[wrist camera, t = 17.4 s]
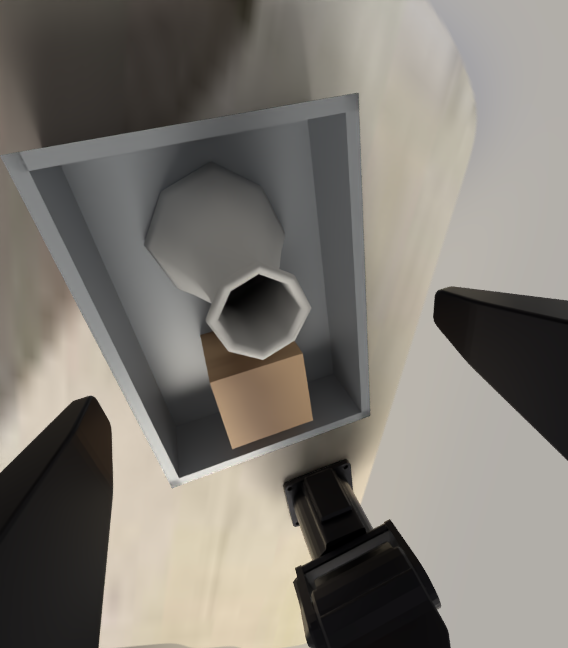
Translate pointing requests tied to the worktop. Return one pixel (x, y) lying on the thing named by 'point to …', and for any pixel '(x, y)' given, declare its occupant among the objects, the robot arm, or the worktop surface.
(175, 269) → the flask
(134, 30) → the worktop surface
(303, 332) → the tote
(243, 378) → the walnut cube
